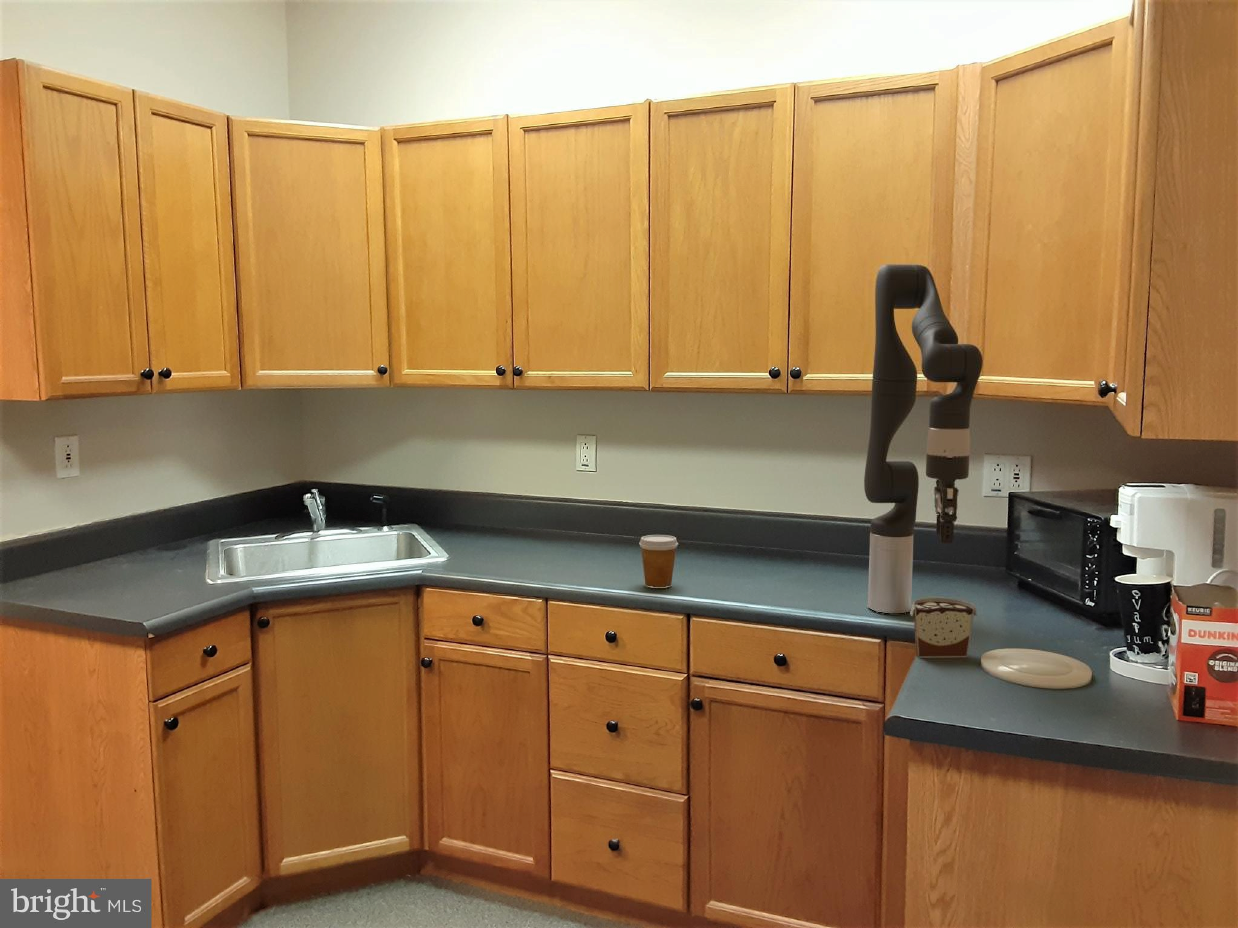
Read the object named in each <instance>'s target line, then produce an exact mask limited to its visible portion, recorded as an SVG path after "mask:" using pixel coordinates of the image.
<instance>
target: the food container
mask: <svg viewBox="0 0 1238 928" xmlns="http://www.w3.org/2000/svg"><path fill="white" fill-rule="evenodd" d="M909 615H910V616H911V617H913V624H914V627H913V628H914V638H915V639H914V641H915V654H916V655H915V656H916V657H917V658H918V659H920V658H922V659H923V658H924V659H929V658H930V659H932V658H933V659H934V658H935V659H936V658H968V657H969V649H970V642H971V636H972V630H973V629H972V628H973V623H974V617H975V616H976V617H977V616H978V613H977V608H976V605H975V604H973V603H971V602H969V601H965V600H960V599H956V598H947V597H924V598H918V599H915V600H913V603H912V604H911V611H910V612H909Z"/></svg>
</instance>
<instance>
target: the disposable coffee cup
mask: <svg viewBox="0 0 1238 928" xmlns="http://www.w3.org/2000/svg"><path fill="white" fill-rule="evenodd" d="M638 545H639V547H640V549H641V558H642V568H643V575H644V576H643V577H644V582H645V584H646V585H647V586H653V587H666V586H670V585H671V586H672V582H673V574H674V565H675V559H676V551H677V547H678V545H679V542H678V541H677V537H675V536H673V535H667V534H649V535H643V536H641V538H640V541H639V543H638ZM646 585H645V586H646Z"/></svg>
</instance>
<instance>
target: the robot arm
mask: <svg viewBox="0 0 1238 928" xmlns="http://www.w3.org/2000/svg"><path fill="white" fill-rule="evenodd" d="M874 292H875V293H874V306H875V307H874V310H875V313H874V315H875V319H874V321H875V322H874V323H875V337H874V339H875V342H874V344H875V345H874V356H873V370H872V379H871V382H872V383H871V399H870V400H871V403H870V406H871V407H870V427H869V429H870V430H869V440H868V445H867V447H868V448H867V452H866V453H867V454H866V461H865V462H866V463H865V469H864V477H863V478H864V480H863V481H864V482H863V488H864V494H865V497H866V499H867V500H868V502H870V503H872V504H894V506H893V507H892V508H891V509H890V510H889V511H887V512H886V513H884V514H882V515H879V516H876V517H874V518H873V519H872V520H871V522H870V525H869V533H870V534H869V555H868V556H869V559H868V561H869V562H868V563H869V564H868V589H867V591H868V592H867V608H868V607H869V608H870V609H872V610H875V611H878V612H886V613H904V612H909V611H910V610H911V607H912V587H913V586H912V585H913V584H912V583H913V564H914V563H913V562H914V561H913V558H914V557H913V556H914V534H915V531H914V530H915V525H916V521H917V508H918V507H917V505H918V497H919V487H920V485H919V484H920V483H919V482H920V481H919V478H920V477H919V472H918V468H917V467H916V464H915V463H914V462H912V461H908V460H887V458H888V452H889V449H890V445H891V443H892V440H893V439H894V437H895V434H896V433H897V431H899V429H900V427H901V426H902V425H903V423H904V421H906V419H907V418H908V416H909V415H910V414H911V412H912V410H913V408H914V406H915V404H916V399H917V386H918V381H917V380H918V370H917V367H916V364H915V363H914V361H913V359H912V357H911V355H910V353H909V352H908V350H907V348H906V347H905V345H904V343H903V341H902V339H901V337H900V335H899V332H898V329H897V327H896V320H895V310H914V309H918V310H917V311H916V313H915V315H914V316H913V318H912V319H913V320H912V321H911V322H912V323H911V332H912V336H913V338H914V339H915V340H914V341H916V343H917V345H918V348H919V349H920V353H921V365H920V366H921V373H922V375H923V376H924V377H925V378H926V379H927V380H928V381H930V382H932V383H956V385H955V387H954V389H953V390H952V391H951V392H950V393H947V394H941V395H938V396H934V397H932V398H931V400H930V403H929V421H928V423H929V424H928V434H927V439H926V454H925V455H926V459H925V476H926V477H927V478H930V479H935V483H936V484H935V485H936V486H934V490H933V492H934V499H933V501H934V508H935V515H936V524H935V525H936V526H935V532H936V534H937V535H940V536H939V540H940V543H942V544H953V542H954V531H955V528H954V527H955V523H956V521H957V519H958V516H957V514H958V513H957V512H958V507H959V506H958V500H959V499H958V498H959V491H960V490H959V489H958V487H957V486H956V484H955V482H956V480H959V481H961V480H966V479H968V478H969V475H970V474H969V472H970V452H971V451H970V449H971V447H970V446H971V437H970V435H971V434H970V417H971V415H970V414H971V405H972V402H973V398H974V393H975V391H976V388H977V384H978V381H979V380H980V376H981V372H982V370H983V365H984V364H983V363H984V362H983V361H984V359H983V356H982V352H981V350H980V349H979V347H977V346H976V345H974V344H970V343H959V336H958V333H957V332H956V330H955V329H954V326H953V325H952V323H951V322H950V321H949V319H948V318H947V315H946V314H945V311H944V310H943V309H944V308H943V306H942V302H941V298H940V294H939V292H938V288H937V286H936V283H935V279H934V277H933V274H932V272H931V270H930V269H929V268H928V267H927V266H925V265H922V264H893V263H892V264H884V265H882V266H880V267H879V270H878V271H877V273H876V279H875V289H874ZM870 609H869V610H870ZM872 610H871V611H872ZM878 612H877V613H878ZM909 613H910V612H909Z"/></svg>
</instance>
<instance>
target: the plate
mask: <svg viewBox="0 0 1238 928" xmlns="http://www.w3.org/2000/svg"><path fill="white" fill-rule="evenodd" d="M980 659H981V660H980V667H981V668H982V670H984V671H985V673H987V674H988V675H991V676H993V677H995V678H998V679H1000V680H1003V681H1005V682H1009V683H1012V684H1016V685H1022V686H1026V687H1032V688H1040V689H1056V690H1057V689H1059V690H1061V689H1063V690H1064V689H1076V688H1081V687H1083V686H1087V685H1089V684H1090V683H1091V681H1092V676H1093V675H1092V674H1093V672H1092V669H1091V667H1089V666H1088V664H1086V663H1084V662H1082V661H1081V660H1078V659H1076V658H1073V657H1070V656H1067V655H1064V654H1061V653H1056V652H1051V651H1045V650H1039V649H1031V648H999V649H993V650H989V651H986V652H985V653H983V654H982V655H981V658H980Z"/></svg>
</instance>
